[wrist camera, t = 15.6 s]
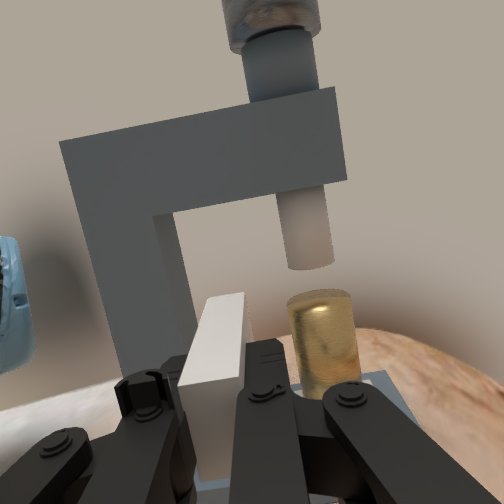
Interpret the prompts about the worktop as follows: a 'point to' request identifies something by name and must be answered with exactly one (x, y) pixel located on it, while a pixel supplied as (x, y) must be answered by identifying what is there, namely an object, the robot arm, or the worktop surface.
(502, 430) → the worktop surface
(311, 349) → the cylinder
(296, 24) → the lever
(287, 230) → the press frame
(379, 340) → the worktop surface
